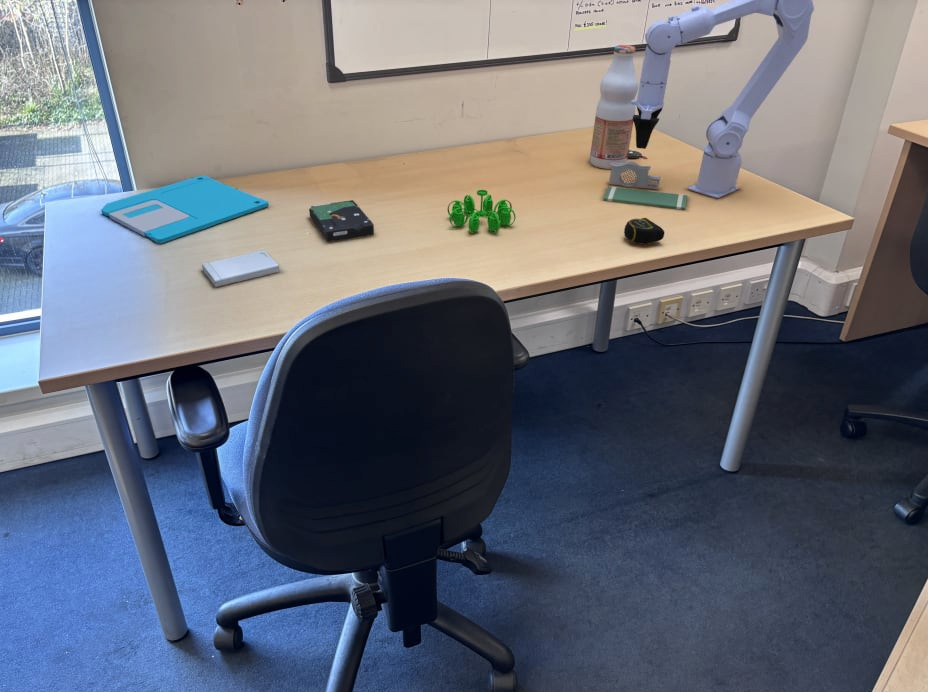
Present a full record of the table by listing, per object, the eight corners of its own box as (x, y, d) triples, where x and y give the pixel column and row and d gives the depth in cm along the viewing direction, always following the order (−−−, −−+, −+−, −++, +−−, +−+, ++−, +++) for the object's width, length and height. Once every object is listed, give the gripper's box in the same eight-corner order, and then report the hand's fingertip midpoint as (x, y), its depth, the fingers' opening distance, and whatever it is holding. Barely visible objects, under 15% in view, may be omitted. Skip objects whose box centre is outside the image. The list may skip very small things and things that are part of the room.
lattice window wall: (659, 188, 177) (663, 163, 174) (658, 190, 176) (663, 166, 172) (608, 182, 180) (611, 158, 177) (607, 185, 179) (610, 160, 176)
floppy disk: (270, 206, 168) (269, 202, 167) (159, 244, 151) (159, 239, 150) (203, 178, 182) (203, 174, 182) (96, 211, 166) (95, 206, 165)
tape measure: (663, 245, 151) (667, 227, 149) (634, 249, 149) (637, 231, 147) (645, 232, 156) (648, 215, 154) (616, 236, 154) (619, 219, 152)
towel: (607, 188, 177) (608, 186, 177) (686, 197, 172) (687, 195, 172) (603, 200, 171) (603, 197, 170) (684, 210, 166) (685, 207, 165)
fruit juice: (581, 163, 192) (596, 46, 176) (602, 155, 197) (619, 41, 181) (612, 172, 186) (631, 52, 170) (633, 163, 192) (653, 46, 175)
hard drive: (263, 249, 146) (201, 262, 141) (279, 265, 140) (214, 279, 135) (264, 256, 147) (202, 270, 141) (280, 273, 141) (216, 288, 136)
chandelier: (436, 231, 157) (437, 199, 153) (457, 206, 168) (458, 176, 164) (505, 241, 152) (508, 209, 148) (522, 214, 164) (525, 184, 160)
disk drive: (375, 236, 155) (353, 210, 166) (375, 224, 153) (353, 198, 164) (327, 244, 151) (308, 217, 163) (326, 231, 150) (307, 205, 161)
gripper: (638, 72, 171) (628, 132, 179) (631, 87, 160) (621, 150, 168) (669, 75, 169) (658, 135, 177) (665, 90, 158) (653, 153, 166)
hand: (642, 143), depth 172 cm, fingers open, 7 cm apart
